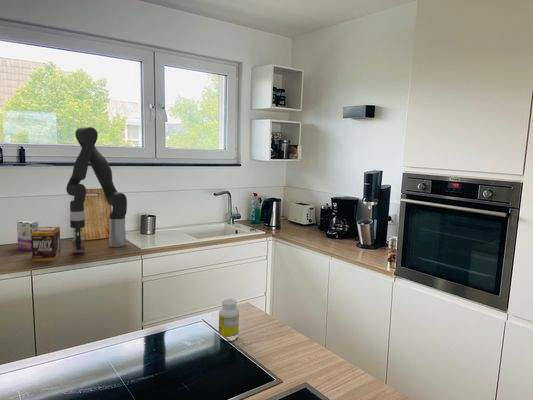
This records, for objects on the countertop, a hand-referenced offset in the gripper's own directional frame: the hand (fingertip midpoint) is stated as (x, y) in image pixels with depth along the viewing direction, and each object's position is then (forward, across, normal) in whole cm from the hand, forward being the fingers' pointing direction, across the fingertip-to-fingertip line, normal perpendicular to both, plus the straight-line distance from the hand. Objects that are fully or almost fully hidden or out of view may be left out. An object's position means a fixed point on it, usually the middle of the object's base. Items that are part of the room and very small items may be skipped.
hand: (78, 247), depth 225 cm
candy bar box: (+3, +16, +26) cm, 31 cm away
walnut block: (+1, 0, 0) cm, 1 cm away
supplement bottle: (+3, -124, -47) cm, 132 cm away
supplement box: (+3, -4, +16) cm, 16 cm away
